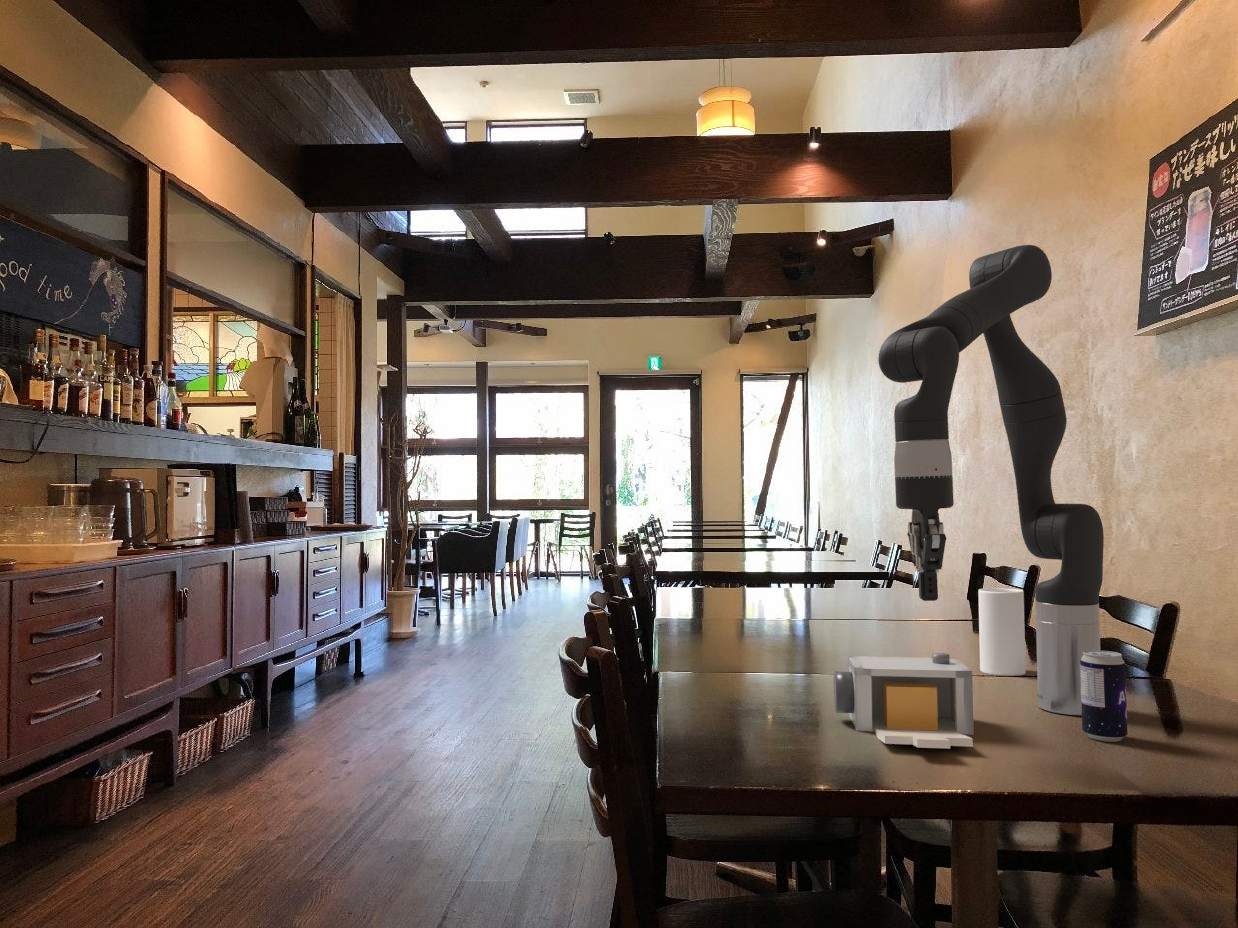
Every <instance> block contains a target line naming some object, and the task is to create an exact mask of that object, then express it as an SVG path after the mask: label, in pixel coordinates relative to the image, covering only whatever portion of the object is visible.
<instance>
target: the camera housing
mask: <svg viewBox="0 0 1238 928" xmlns="http://www.w3.org/2000/svg"><path fill="white" fill-rule="evenodd" d="M847 669H848V670H847V671H834V672H833V700H834V701H833V702H834V711H835V713H836V714H848V715H849V718H850V720H851V722H852V724H853V726H854V729H855V731H856V732H875V728H878V729H909V730H941V731H957V732H958V733H961V734H963V735H974V689H973V688H974V686H973V670H972V669H970V668H969V667H968V666H967V665H965V664H964V663H963V662H961V661H960V660H959V659H958V658H956V657H950V653H944V652H936V653H935V652H934V653H932V657H917V656H914V657H913V656H912V657H911V656H910V657H909V656H869V655H867V656H866V655H863V656H862V655H861V656H860V655H859V656H857V655H848V656H847Z"/></svg>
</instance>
